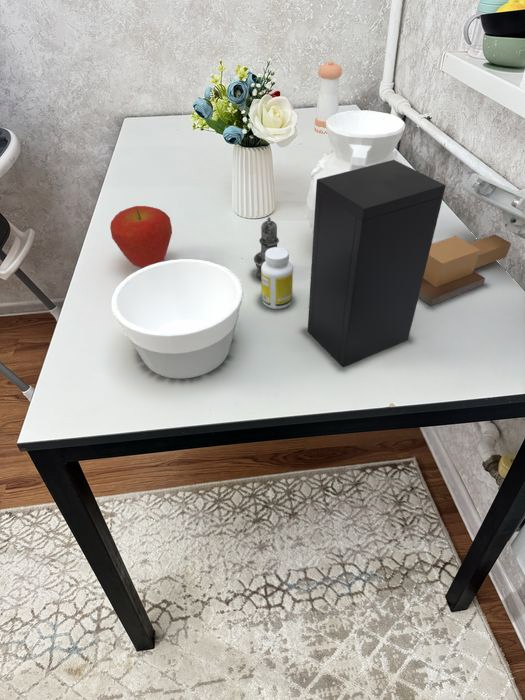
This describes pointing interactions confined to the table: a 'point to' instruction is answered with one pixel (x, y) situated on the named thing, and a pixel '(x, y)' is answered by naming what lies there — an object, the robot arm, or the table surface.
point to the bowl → (179, 315)
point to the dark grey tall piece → (266, 243)
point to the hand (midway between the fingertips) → (495, 191)
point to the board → (449, 288)
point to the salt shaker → (327, 93)
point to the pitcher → (355, 146)
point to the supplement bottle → (277, 278)
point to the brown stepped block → (462, 257)
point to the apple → (142, 234)
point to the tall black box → (369, 257)
